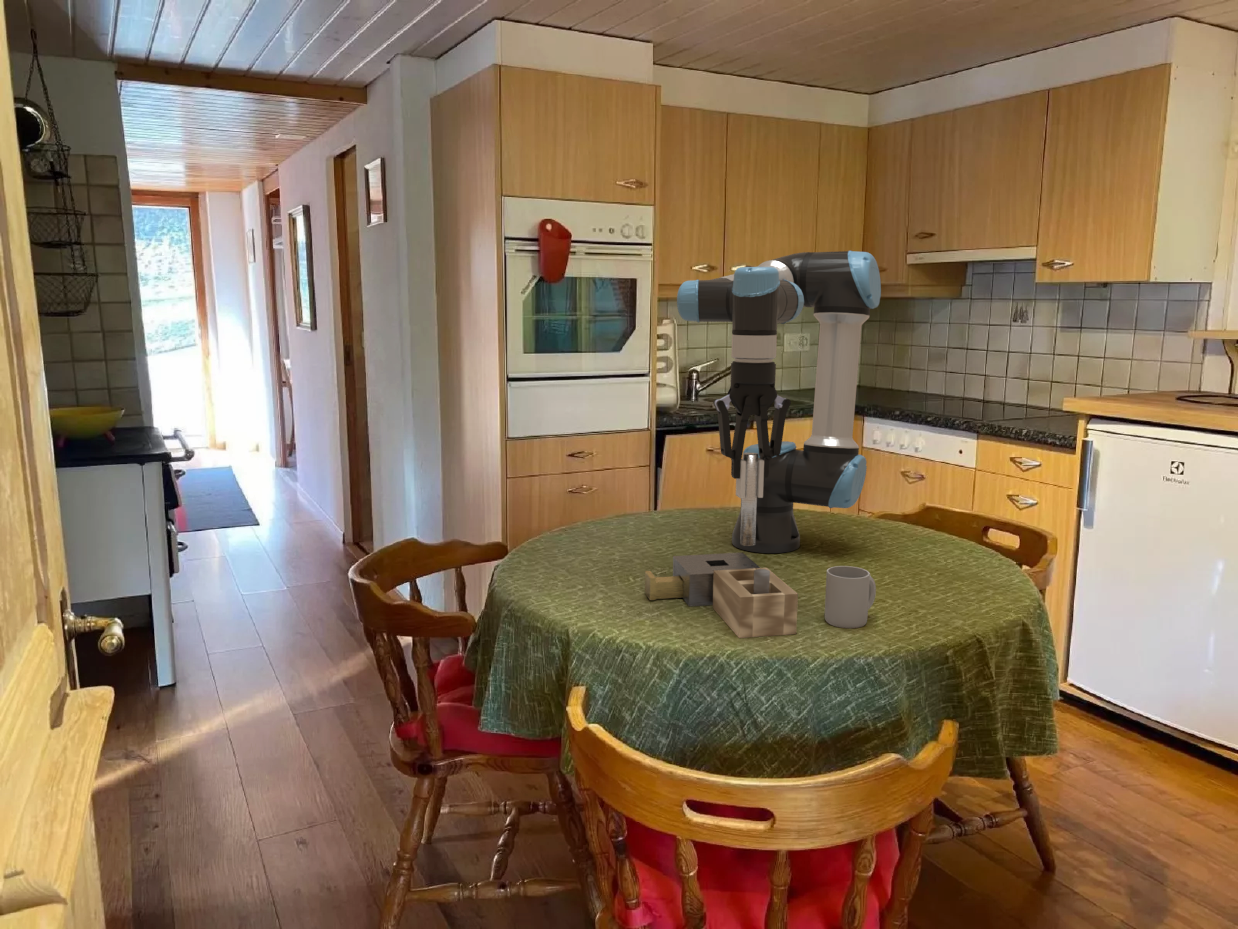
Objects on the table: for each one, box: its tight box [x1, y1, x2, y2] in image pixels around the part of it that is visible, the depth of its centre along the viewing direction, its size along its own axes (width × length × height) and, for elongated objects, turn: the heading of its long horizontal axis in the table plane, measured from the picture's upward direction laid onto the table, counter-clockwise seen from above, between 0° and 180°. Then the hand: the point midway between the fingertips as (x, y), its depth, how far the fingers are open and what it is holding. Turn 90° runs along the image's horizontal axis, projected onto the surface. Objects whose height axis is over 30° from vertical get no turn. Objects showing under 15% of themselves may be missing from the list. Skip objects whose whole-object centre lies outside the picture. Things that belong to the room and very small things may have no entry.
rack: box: [712, 567, 799, 639], centre depth 160 cm, size 10×15×10 cm, turn 11°
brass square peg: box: [644, 570, 683, 601], centre depth 173 cm, size 10×4×4 cm, turn 101°
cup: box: [824, 565, 877, 629], centre depth 160 cm, size 7×10×9 cm
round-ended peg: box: [740, 453, 758, 546], centre depth 160 cm, size 3×3×16 cm
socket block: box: [672, 552, 761, 607], centre depth 174 cm, size 14×12×6 cm
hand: (749, 496), depth 160 cm, fingers closed on round-ended peg, 3 cm apart
